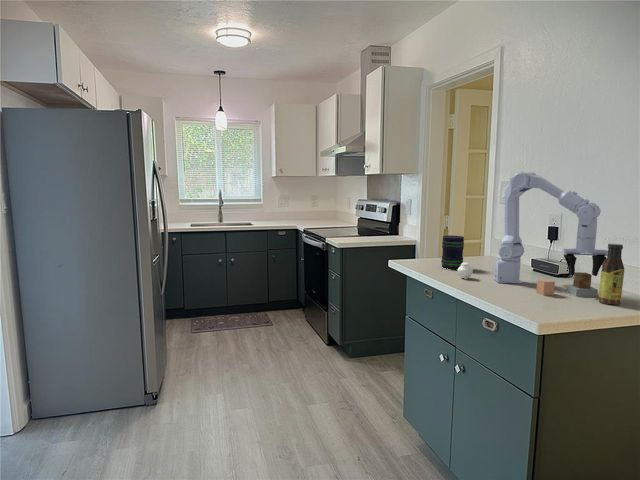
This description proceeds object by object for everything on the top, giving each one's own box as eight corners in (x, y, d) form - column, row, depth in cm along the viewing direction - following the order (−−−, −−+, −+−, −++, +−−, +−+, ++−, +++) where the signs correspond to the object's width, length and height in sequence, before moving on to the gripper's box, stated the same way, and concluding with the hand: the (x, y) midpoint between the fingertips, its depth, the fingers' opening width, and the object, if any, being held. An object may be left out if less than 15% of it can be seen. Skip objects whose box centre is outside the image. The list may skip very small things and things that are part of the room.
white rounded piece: (467, 280, 173) (468, 263, 172) (454, 278, 177) (455, 261, 176) (475, 278, 177) (476, 262, 176) (462, 276, 181) (462, 260, 180)
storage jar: (465, 270, 194) (467, 238, 192) (444, 270, 194) (445, 238, 192) (459, 266, 204) (460, 235, 202) (438, 266, 204) (439, 235, 202)
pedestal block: (576, 297, 149) (576, 289, 148) (566, 292, 156) (567, 284, 155) (597, 298, 148) (597, 289, 148) (586, 293, 155) (587, 285, 155)
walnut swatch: (568, 288, 159) (568, 287, 159) (562, 285, 164) (562, 284, 164) (582, 289, 159) (582, 288, 159) (576, 286, 163) (576, 285, 163)
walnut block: (578, 288, 150) (579, 274, 149) (573, 285, 154) (574, 272, 153) (590, 288, 149) (591, 274, 148) (584, 286, 153) (586, 272, 152)
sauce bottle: (613, 306, 136) (619, 245, 134) (593, 301, 142) (599, 243, 139) (625, 304, 139) (631, 244, 137) (605, 299, 145) (610, 242, 142)
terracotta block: (543, 295, 150) (544, 282, 149) (536, 292, 154) (537, 279, 153) (553, 295, 150) (554, 281, 149) (546, 292, 154) (547, 279, 153)
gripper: (569, 238, 146) (565, 276, 148) (614, 239, 144) (610, 278, 146) (560, 236, 153) (557, 272, 155) (604, 236, 151) (600, 274, 153)
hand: (582, 275), depth 151 cm, fingers open, 7 cm apart
